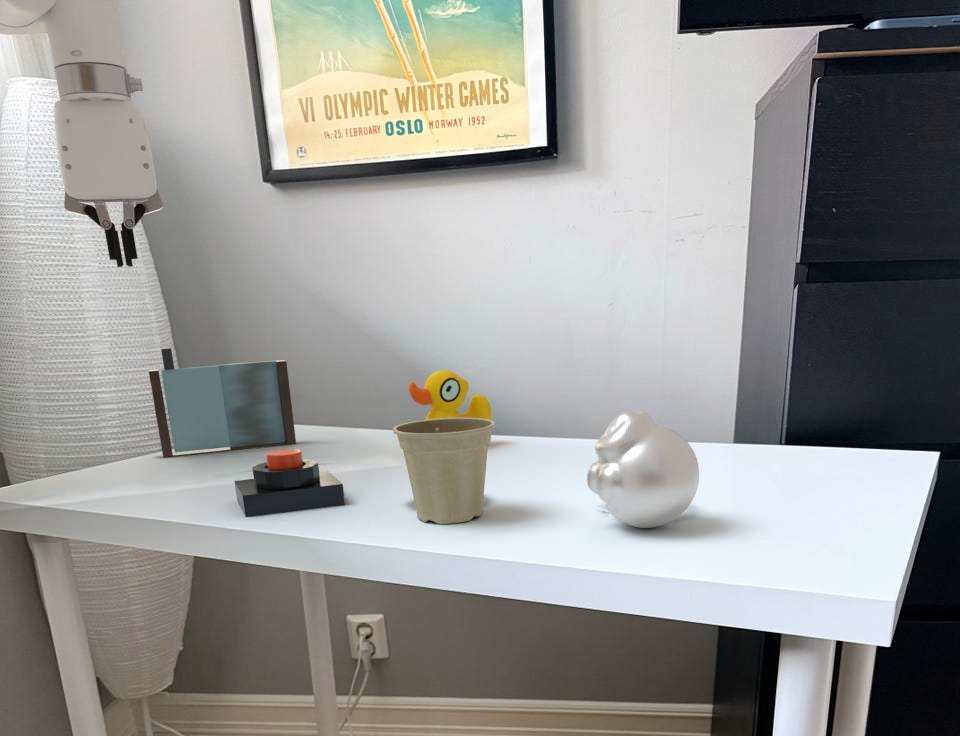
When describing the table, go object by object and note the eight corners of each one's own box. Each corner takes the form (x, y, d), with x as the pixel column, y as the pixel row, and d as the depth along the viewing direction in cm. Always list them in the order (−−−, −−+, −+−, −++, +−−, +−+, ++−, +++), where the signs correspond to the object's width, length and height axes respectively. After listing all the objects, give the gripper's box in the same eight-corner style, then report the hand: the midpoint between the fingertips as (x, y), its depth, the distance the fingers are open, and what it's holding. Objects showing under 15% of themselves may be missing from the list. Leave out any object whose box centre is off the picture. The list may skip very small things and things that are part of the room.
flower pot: (382, 516, 90) (374, 425, 86) (464, 500, 94) (460, 413, 91) (432, 535, 82) (425, 437, 79) (518, 517, 87) (515, 423, 84)
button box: (245, 517, 92) (239, 477, 90) (237, 501, 99) (231, 463, 97) (345, 505, 95) (341, 466, 93) (329, 490, 102) (326, 453, 100)
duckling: (423, 456, 118) (417, 375, 114) (405, 451, 122) (399, 372, 118) (500, 445, 123) (497, 367, 119) (480, 440, 127) (477, 365, 123)
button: (270, 474, 93) (268, 456, 93) (265, 468, 96) (263, 451, 96) (306, 470, 94) (304, 452, 94) (300, 464, 97) (298, 447, 97)
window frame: (165, 468, 119) (148, 371, 114) (164, 465, 121) (148, 370, 116) (297, 454, 124) (286, 360, 119) (295, 451, 126) (284, 359, 121)
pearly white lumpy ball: (606, 511, 87) (606, 402, 84) (706, 517, 84) (711, 403, 80) (574, 535, 80) (572, 418, 76) (683, 543, 76) (687, 420, 72)
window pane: (174, 452, 118) (157, 349, 114) (174, 451, 120) (157, 348, 115) (230, 447, 121) (216, 345, 116) (229, 445, 122) (215, 344, 117)
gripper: (163, 96, 109) (188, 264, 116) (24, 95, 104) (59, 270, 111) (165, 83, 102) (192, 263, 109) (17, 82, 98) (54, 269, 105)
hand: (125, 266), depth 110 cm, fingers closed
